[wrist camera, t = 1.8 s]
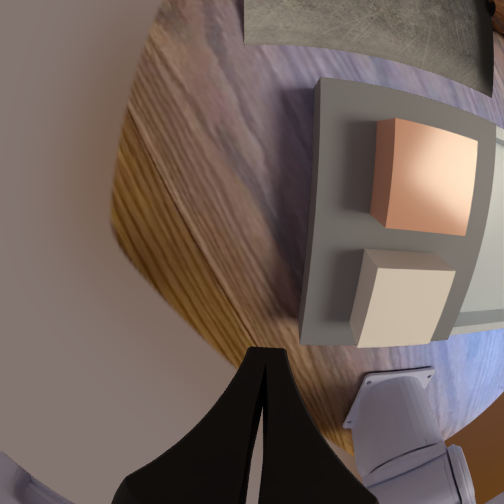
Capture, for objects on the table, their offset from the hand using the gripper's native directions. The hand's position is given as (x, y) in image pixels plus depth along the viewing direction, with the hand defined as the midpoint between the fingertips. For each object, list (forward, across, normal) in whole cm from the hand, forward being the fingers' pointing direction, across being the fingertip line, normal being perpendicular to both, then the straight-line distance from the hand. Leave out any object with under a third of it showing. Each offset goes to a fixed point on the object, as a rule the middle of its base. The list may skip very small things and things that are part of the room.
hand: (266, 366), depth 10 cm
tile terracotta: (+6, -8, -7) cm, 12 cm away
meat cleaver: (+10, -15, -19) cm, 26 cm away
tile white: (+6, -8, 0) cm, 10 cm away
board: (+10, -8, -4) cm, 13 cm away
